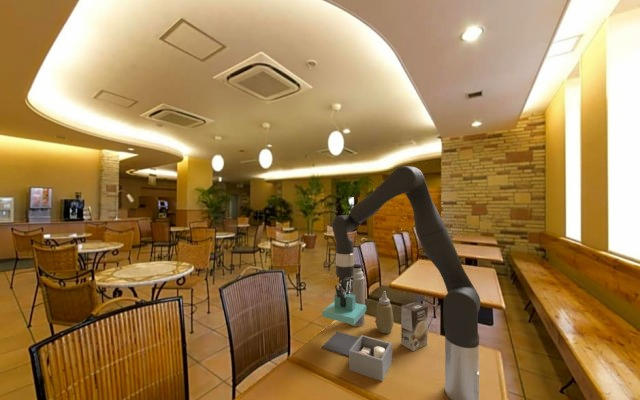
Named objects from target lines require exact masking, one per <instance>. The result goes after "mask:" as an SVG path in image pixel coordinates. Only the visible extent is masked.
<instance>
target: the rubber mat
mask: <svg viewBox="0 0 640 400" xmlns="http://www.w3.org/2000/svg"><path fill="white" fill-rule="evenodd" d="M359 337H360V336H356V335H352V334H347V333H345V332H342V331H336V332H335V333H334V334H332V336H331V337H330V338H329V339H328V340H327V341H326V342H325V343H324V344H323V345H322V346H321V349H322V350H327V351H328V352H333V353H335V354H338V355H341V356H345V357H347V358H349V350H350V349H351V348H352V346H353V345H354V344H355V342H356V341H357V340H358V339H359Z"/></svg>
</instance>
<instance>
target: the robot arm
mask: <svg viewBox="0 0 640 400" xmlns="http://www.w3.org/2000/svg"><path fill="white" fill-rule="evenodd" d="M402 194H405V195H406V197H407V199H408V201H409V203H410V206H411V208H412V211H413V219H414V228H415V232H416V235H417V238H418V240H419V244H420V245H421V247H422V250H423V251H424V253H425V254H426V256H427V258H428V259H429V260H430V262H432V264H433V265H434V267H436V269H437V270H438V272H439V273H440V276H441V277H442V281H443V284H444V285H445V288H446V292H447V293H446V294H445V296H444V299H443V303H442V304H443V305H442V313H443V315H442V316H443V317H442V318H443V330H444V334H445V335H444V336H445V341H444V342H445V346H444V348H445V349H444V353H445V354H444V355H445V356H444V391H445V395H446V396H447V398H449V399H450V400H480V335H479V322H478V321H479V320H478V319H479V312H480V311H479V310H480V308H481V303H482V302H481V298H480V295H479V293H478V292H477V290H476V287H474V285H473V283H472V281H471V280H470V278H469V276H468V275H467V273H466V271H465V269H464V267H463V265H462V262H461V259H460V257H459V255H458V251H457V250H456V247H455V245H454V243H453V240H452V238H451V236H450V234H449V231H448V229H447V226H446V225H445V223H444V221H443V219H442V217H441V215H440V213H439V211H438V209H437V206H436V205H435V203H434V202H433V199H432V197H431V193H430V190H429V188H428V184H427V182H426V179H425V176H424V173H423V172H422V171H421V169H419V168H417V167H415V166H410V165H408V166H407V165H402V166H398V167H396V169H394V170H393V171H392V172H391V173H390V174H389V175H388V176H387V177H386V179H384V180H383V182H382V183H381V184H379V186H377V187H376V188H375V189H374V190H373V191H372V192H371V193H370V194H369V195H366V196H365V197H364V198H363V199H361V200H360V201H359V202H358V203H356V204H355V205H354V206H352V207H351V209H350V210H349V213H348V214H343V215H340V214H339V215H337V216H335V217H334V219H333V221H332V224H331V226H332V227H331V228H332V232H333V236H334V239H335V243H336V244H335V251H336V252H335V276H337V277H338V281H337V283H338V284H335V286H334V288H335V294H336V293H337V297H339V298H340V306H341V307H346V294H350V292H352V287H353V280H354V278H353V277H351V276H353V275H354V264H355V257H354V256H355V255H354V241H353V239H352V238H350V237H349V236H348V232H352V231H354V230H357V228H358V227H359V226H360V225H361V224H363V222H364V221H366V220H368V219H369V218H371V217H372V216H373V215H375V214H376V213H377V212H378V211H379V210H380V209H382V207H383V206H384V205H385V204H386V203H387V202H389V201H390V200H392V199H394V198H396V197H398V196H400V195H402ZM343 293H344V294H343Z"/></svg>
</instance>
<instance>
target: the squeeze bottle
mask: <svg viewBox="0 0 640 400" xmlns="http://www.w3.org/2000/svg"><path fill="white" fill-rule="evenodd" d="M374 322H375V325H376V328H377V331H378V333H381V334H385V335H388V334H390V333H391V332H392V330H393V327H394V324H395V323H394V314H393V306H392V304H391V301H390V299H389V298H388V296H387V292H386V290H383V291H382V295H381V297H380V298H379V299H378V303H377V304H376V311H375V321H374Z"/></svg>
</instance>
